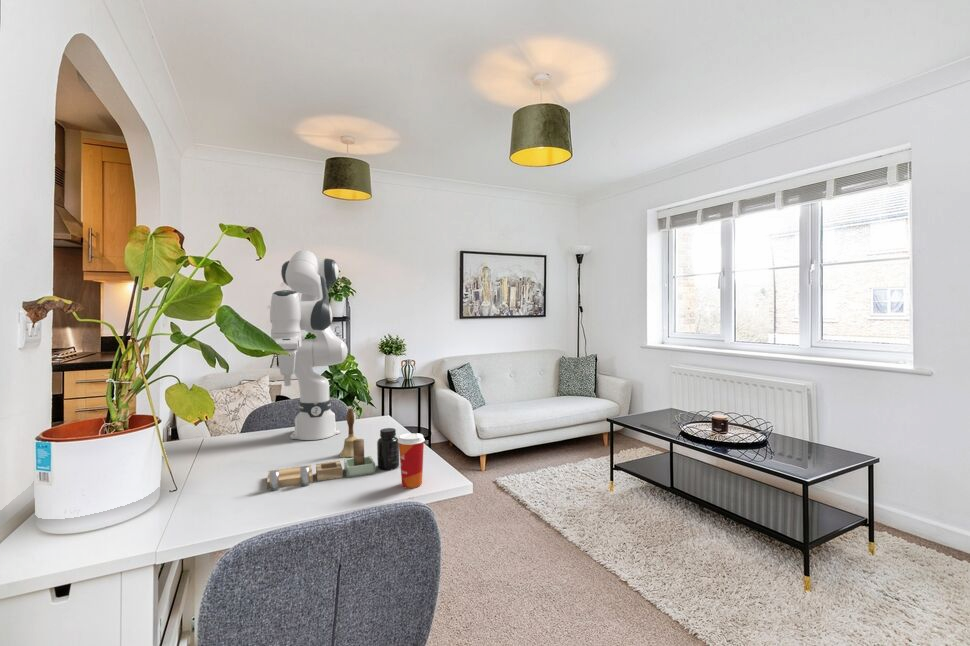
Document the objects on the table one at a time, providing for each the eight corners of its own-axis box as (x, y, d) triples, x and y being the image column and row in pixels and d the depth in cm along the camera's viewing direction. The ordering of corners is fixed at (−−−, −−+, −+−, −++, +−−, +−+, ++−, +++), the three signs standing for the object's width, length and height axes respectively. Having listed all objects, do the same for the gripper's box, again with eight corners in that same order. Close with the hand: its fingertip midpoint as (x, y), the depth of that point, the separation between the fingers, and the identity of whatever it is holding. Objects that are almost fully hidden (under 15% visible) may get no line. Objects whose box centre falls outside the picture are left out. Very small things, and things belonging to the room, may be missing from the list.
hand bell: (334, 457, 158) (333, 410, 158) (347, 449, 166) (346, 405, 166) (355, 458, 156) (354, 411, 156) (368, 451, 164) (367, 406, 164)
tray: (344, 469, 146) (344, 459, 146) (370, 465, 149) (370, 456, 149) (347, 477, 138) (347, 467, 138) (375, 473, 141) (375, 463, 141)
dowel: (353, 468, 145) (352, 439, 144) (363, 466, 146) (363, 438, 146) (354, 471, 142) (353, 442, 141) (365, 469, 143) (364, 441, 143)
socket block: (316, 473, 142) (316, 463, 142) (339, 470, 145) (339, 460, 145) (317, 481, 135) (317, 471, 135) (342, 477, 138) (342, 467, 138)
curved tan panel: (268, 479, 139) (268, 471, 139) (311, 473, 144) (310, 465, 144) (267, 490, 130) (267, 482, 130) (312, 484, 135) (312, 475, 135)
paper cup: (401, 479, 136) (400, 432, 135) (427, 479, 136) (426, 432, 135) (395, 490, 128) (394, 439, 128) (423, 490, 128) (422, 439, 127)
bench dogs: (269, 488, 130) (269, 471, 130) (309, 482, 134) (308, 465, 134) (269, 491, 128) (269, 473, 128) (309, 485, 132) (309, 468, 132)
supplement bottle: (373, 467, 147) (372, 430, 147) (391, 462, 152) (390, 425, 152) (385, 472, 142) (385, 433, 142) (403, 466, 147) (403, 429, 147)
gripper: (276, 339, 154) (277, 381, 154) (274, 344, 135) (276, 391, 136) (296, 339, 156) (297, 379, 157) (298, 343, 138) (299, 389, 138)
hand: (287, 385), depth 146 cm, fingers closed
